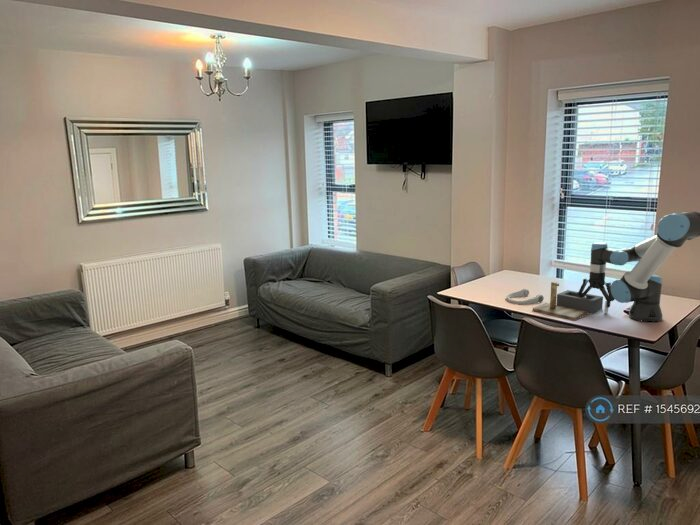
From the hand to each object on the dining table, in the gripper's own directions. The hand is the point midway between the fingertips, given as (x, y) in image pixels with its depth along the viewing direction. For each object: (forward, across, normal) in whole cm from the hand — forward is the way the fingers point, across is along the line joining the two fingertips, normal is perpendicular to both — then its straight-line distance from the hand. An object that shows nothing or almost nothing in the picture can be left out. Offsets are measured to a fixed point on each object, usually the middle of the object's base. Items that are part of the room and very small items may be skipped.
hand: (594, 310), depth 282 cm
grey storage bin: (0, +9, 0) cm, 9 cm away
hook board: (0, +12, +16) cm, 19 cm away
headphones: (+1, +39, +8) cm, 40 cm away
